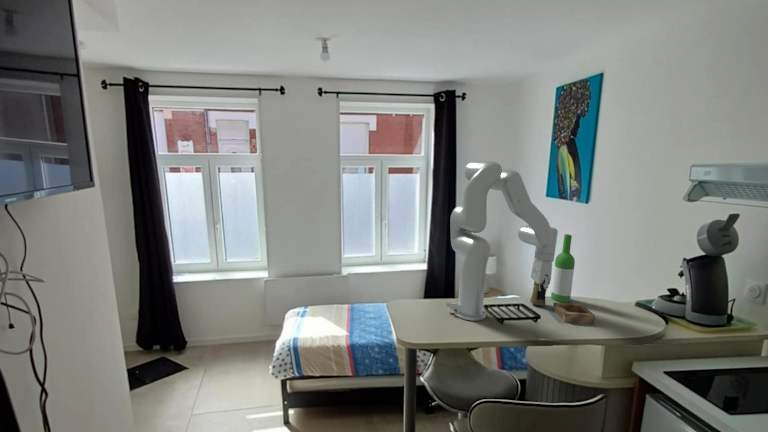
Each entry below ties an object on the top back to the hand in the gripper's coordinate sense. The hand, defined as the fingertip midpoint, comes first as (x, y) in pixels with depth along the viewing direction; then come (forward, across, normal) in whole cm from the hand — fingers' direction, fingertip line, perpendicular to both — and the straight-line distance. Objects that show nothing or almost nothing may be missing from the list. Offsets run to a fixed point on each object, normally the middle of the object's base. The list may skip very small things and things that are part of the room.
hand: (538, 297), depth 154 cm
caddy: (+3, +11, +10) cm, 15 cm away
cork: (+3, 0, 0) cm, 3 cm away
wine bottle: (+3, -8, +13) cm, 16 cm away
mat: (+4, +11, +9) cm, 14 cm away
